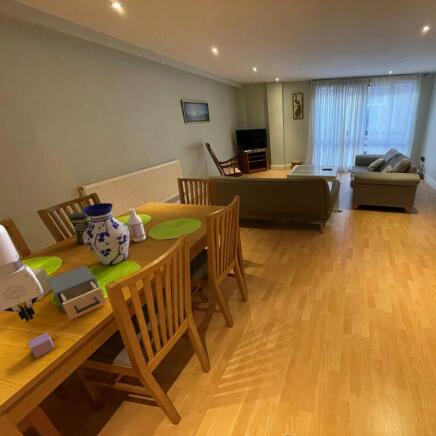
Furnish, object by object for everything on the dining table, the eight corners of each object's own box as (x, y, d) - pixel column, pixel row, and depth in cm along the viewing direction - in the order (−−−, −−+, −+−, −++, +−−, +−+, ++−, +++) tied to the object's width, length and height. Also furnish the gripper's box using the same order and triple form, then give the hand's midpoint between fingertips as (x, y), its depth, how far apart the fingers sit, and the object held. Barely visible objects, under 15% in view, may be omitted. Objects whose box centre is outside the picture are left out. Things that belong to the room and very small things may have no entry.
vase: (107, 273, 116) (86, 216, 104) (84, 264, 123) (63, 210, 112) (143, 255, 132) (129, 203, 120) (122, 248, 139) (106, 199, 128)
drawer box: (101, 294, 102) (95, 277, 98) (63, 312, 93) (54, 293, 89) (91, 281, 110) (84, 265, 107) (54, 296, 101) (46, 278, 98)
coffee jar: (76, 244, 144) (64, 215, 136) (83, 238, 151) (72, 210, 144) (94, 242, 146) (84, 214, 139) (100, 236, 153) (91, 209, 146)
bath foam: (132, 238, 150) (124, 209, 142) (145, 235, 154) (137, 206, 146) (134, 243, 145) (125, 212, 137) (147, 239, 148) (139, 209, 141)
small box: (39, 289, 105) (29, 269, 101) (54, 287, 106) (44, 268, 102) (24, 302, 98) (12, 281, 94) (40, 300, 99) (29, 279, 95)
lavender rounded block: (36, 358, 75) (30, 348, 73) (33, 350, 77) (28, 341, 76) (55, 348, 78) (49, 339, 76) (52, 341, 81) (46, 332, 79)
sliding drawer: (110, 308, 94) (105, 293, 91) (73, 326, 85) (65, 310, 82) (95, 289, 104) (90, 275, 101) (61, 304, 96) (54, 289, 93)
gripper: (-42, 286, 59) (-7, 341, 66) (42, 260, 70) (64, 309, 77) (-42, 275, 63) (-9, 327, 70) (37, 252, 74) (58, 299, 81)
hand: (29, 318), depth 73 cm, fingers closed
